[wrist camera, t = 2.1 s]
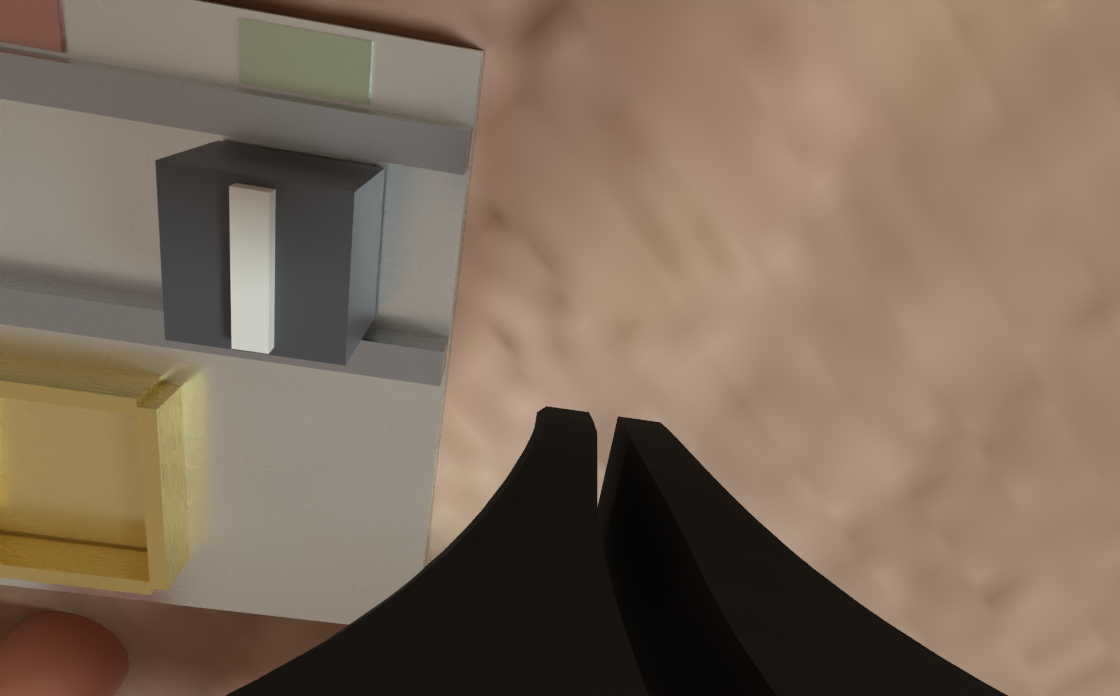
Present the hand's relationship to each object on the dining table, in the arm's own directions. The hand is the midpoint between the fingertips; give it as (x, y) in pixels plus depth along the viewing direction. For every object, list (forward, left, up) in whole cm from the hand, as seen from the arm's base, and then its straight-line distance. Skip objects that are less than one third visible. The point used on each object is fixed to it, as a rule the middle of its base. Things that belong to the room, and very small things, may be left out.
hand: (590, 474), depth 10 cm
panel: (+10, +4, -10) cm, 15 cm away
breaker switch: (+7, 0, -9) cm, 12 cm away
